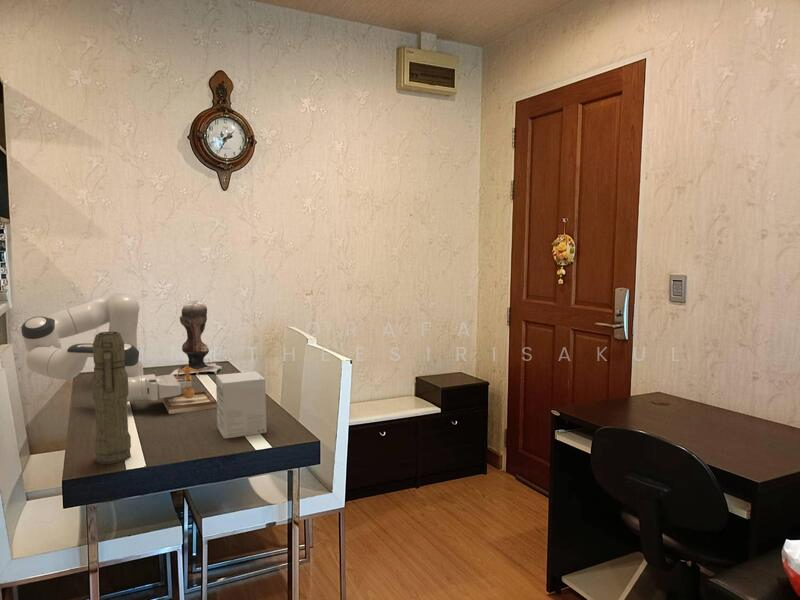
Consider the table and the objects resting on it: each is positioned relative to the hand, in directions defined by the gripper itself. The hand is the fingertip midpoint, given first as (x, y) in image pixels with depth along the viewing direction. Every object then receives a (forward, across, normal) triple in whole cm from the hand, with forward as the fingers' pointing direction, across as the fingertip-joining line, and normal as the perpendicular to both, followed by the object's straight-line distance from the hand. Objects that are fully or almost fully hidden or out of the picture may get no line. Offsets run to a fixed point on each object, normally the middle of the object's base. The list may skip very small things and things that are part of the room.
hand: (190, 382), depth 211 cm
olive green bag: (-28, +47, -9) cm, 55 cm away
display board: (-1, 0, -8) cm, 8 cm away
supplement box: (+9, +39, -9) cm, 41 cm away
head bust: (+13, -64, -9) cm, 66 cm away
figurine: (-1, 0, -6) cm, 6 cm away
